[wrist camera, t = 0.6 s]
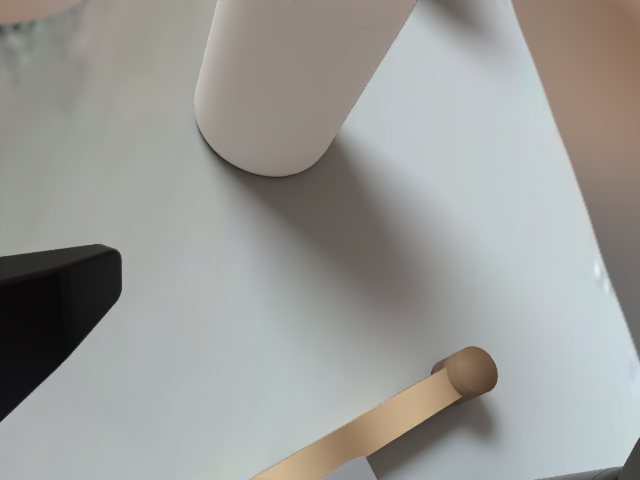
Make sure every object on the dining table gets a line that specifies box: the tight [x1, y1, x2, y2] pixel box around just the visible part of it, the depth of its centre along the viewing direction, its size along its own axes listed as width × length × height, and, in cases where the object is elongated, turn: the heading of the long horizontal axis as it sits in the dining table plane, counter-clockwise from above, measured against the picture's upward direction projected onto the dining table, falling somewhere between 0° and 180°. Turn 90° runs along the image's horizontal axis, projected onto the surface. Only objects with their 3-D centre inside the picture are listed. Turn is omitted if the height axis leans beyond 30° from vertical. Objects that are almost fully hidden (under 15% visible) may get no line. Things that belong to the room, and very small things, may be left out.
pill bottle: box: [194, 0, 417, 177], centre depth 25 cm, size 8×8×15 cm
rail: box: [250, 346, 498, 480], centre depth 23 cm, size 18×2×2 cm, turn 120°
